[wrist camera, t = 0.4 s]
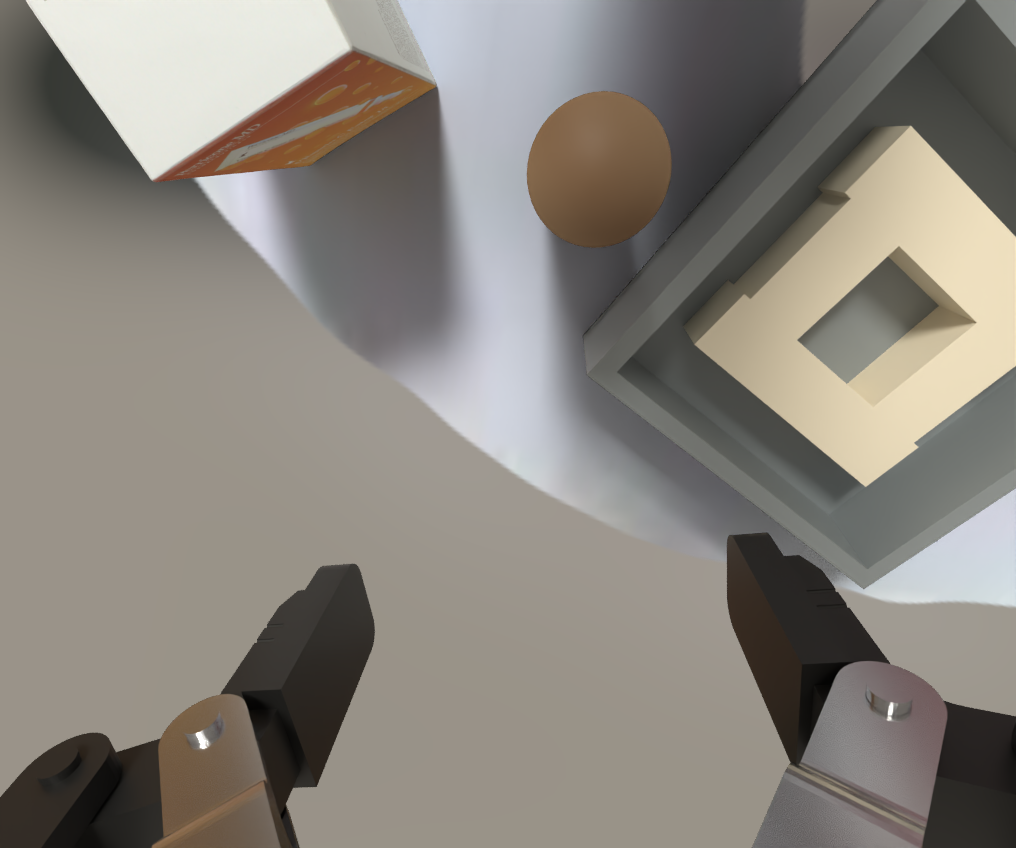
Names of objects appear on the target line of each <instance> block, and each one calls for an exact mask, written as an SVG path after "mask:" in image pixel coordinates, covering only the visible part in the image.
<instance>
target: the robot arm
mask: <svg viewBox="0 0 1016 848" xmlns="http://www.w3.org/2000/svg"><path fill="white" fill-rule="evenodd" d="M727 602H728V609H729V615H730V619H731V623H732V626H733V629H734V631H735V633H736V636H737V638H738V640H739V643H740V645H741V647H742V650H743V652H744V654H745V657H746V659H747V661H748V664H749V666H750V668H751V671H752V673H753V676H754V678H755V680H756V683H757V685H758V687H759V690H760V692H761V694H762V697H763V699H764V701H765V704H766V706H767V708H768V711H769V713H770V715H771V718H772V720H773V723H774V725H775V727H776V729H777V732H778V734H779V737H780V739H781V741H782V744H783V746H784V748H785V751H786V753H787V755H788V758H789V760H790V762H791V763H790V764H789V766H788V767H787V769H786V771H785V772H784V775H783V777H782V779H781V782H780V784H779V786H778V788H777V791H776V793H775V795H774V798H773V800H772V802H771V805H770V807H769V809H768V811H767V814H766V816H765V818H764V821H763V823H762V825H761V828H760V830H759V832H758V835H757V837H756V839H755V842H754V844H753V847H752V848H1016V716H1011V715H1005V714H1000V713H995V712H990V711H985V710H979V709H974V708H969V707H964V706H960V705H956V704H952V703H949V702H946V701H943V699H942V698H941V696H940V695H939V694H938V692H937V691H936V690H935V689H934V688H933V687H932V686H931V685H930V684H928V683H927V682H926V681H925V680H923V679H922V678H920V677H918V676H917V675H915V674H914V673H912V672H910V671H908V670H905V669H903V668H900V667H898V666H895V665H891V664H890V663H889V661H888V660H887V658H886V657H885V656H884V654H883V653H882V652H881V651H880V649H879V648H878V646H877V645H876V644H875V642H874V641H873V639H872V638H871V637H870V635H869V634H868V633H867V631H866V630H865V628H864V627H863V626H862V624H861V623H860V622H859V620H858V619H857V618H856V616H855V615H854V614H853V612H852V611H851V609H850V608H847V605H846V603H845V601H844V600H843V599H842V597H841V596H840V595H839V593H838V592H836V591H835V588H834V586H833V585H832V583H831V582H830V581H829V579H828V578H827V577H826V575H825V574H824V573H823V571H822V570H821V569H819V568H818V567H816V566H815V565H813V564H812V563H810V562H809V561H807V560H806V559H804V558H803V557H801V556H800V555H796V556H783V554H782V553H781V551H780V550H779V548H778V547H777V545H776V544H775V542H774V541H773V539H772V538H771V536H770V535H769V534H768V533H755V534H742V535H730V536H729V537H728V540H727ZM374 631H375V629H374V619H373V616H372V612H371V608H370V604H369V601H368V598H367V594H366V590H365V586H364V583H363V579H362V575H361V572H360V569H359V568H358V566H357V565H356V564H343V565H331V566H322V567H320V568H319V569H318V570H317V572H316V574H315V576H314V577H313V579H312V580H311V582H310V583H309V585H308V586H307V588H306V589H305V590H301V591H297V592H296V593H295V594H294V595H293V596H292V597H290V598H289V599H288V600H287V601H285V602H284V603H283V604H282V605H281V606H279V608H278V609H277V611H276V612H275V614H274V615H273V617H272V618H271V619H270V621H269V623H268V624H267V628H265V629H264V630H263V632H262V633H261V634H260V636H259V637H258V639H257V643H254V645H253V646H252V648H251V649H250V651H249V652H248V654H247V655H246V657H245V658H244V660H243V661H242V663H241V664H240V666H239V667H238V669H237V670H236V672H235V673H234V675H233V676H232V677H231V679H230V680H229V682H228V683H227V685H226V686H225V688H224V689H223V691H222V692H221V694H220V695H216V696H212V697H209V698H206V699H204V700H202V701H200V702H198V703H196V704H194V705H192V706H191V707H189V708H188V709H186V710H185V711H184V712H182V713H181V714H180V715H179V716H178V717H176V718H175V719H174V720H173V721H172V722H171V724H170V725H169V726H168V727H167V729H166V730H165V731H164V733H163V735H162V737H161V739H158V740H154V741H151V742H148V743H145V744H142V745H139V746H135V747H132V748H129V749H126V750H122V751H119V752H116V751H115V750H114V748H113V746H112V744H111V742H110V740H109V738H108V737H107V736H106V735H103V734H101V733H87V734H82V735H79V736H76V737H73V738H70V739H68V740H66V741H64V742H62V743H60V744H58V745H56V746H54V747H53V748H51V749H49V750H48V751H46V752H45V753H43V754H42V755H41V756H39V757H38V758H37V759H36V760H34V761H33V762H32V763H31V764H30V765H29V766H28V767H27V768H26V769H25V770H24V771H23V772H22V773H21V774H20V775H19V776H18V777H17V779H16V780H15V781H14V782H13V783H12V784H11V786H10V787H9V788H8V789H7V790H6V791H5V792H4V794H3V795H2V796H1V797H0V848H300V847H299V844H298V840H297V837H296V833H295V830H294V826H293V823H292V820H291V816H290V813H289V810H288V808H287V805H286V802H287V800H288V798H289V795H290V793H291V791H292V789H293V788H298V787H317V785H318V782H319V779H320V777H321V774H322V772H323V769H324V767H325V764H326V762H327V760H328V757H329V755H330V752H331V750H332V747H333V745H334V742H335V740H336V737H337V734H338V732H339V730H340V727H341V724H342V722H343V720H344V717H345V715H346V712H347V710H348V707H349V705H350V702H351V700H352V697H353V695H354V692H355V690H356V687H357V685H358V682H359V680H360V677H361V675H362V672H363V670H364V667H365V665H366V662H367V660H368V657H369V655H370V652H371V650H372V647H373V642H374V633H375V632H374Z"/></svg>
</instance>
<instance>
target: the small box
mask: <svg viewBox="0 0 1016 848" xmlns="http://www.w3.org/2000/svg"><path fill="white" fill-rule="evenodd" d="M26 2H27V3H28V5H29V6H30V7H31V9H32V10H33V12H34V13H35V15H36V16H37V18H38V19H39V20H40V22H41V24H42V25H43V27H44V28H45V29H46V31H47V32H48V34H49V35H50V37H51V38H52V40H53V41H54V42H55V44H56V45H57V47H58V48H59V49H60V51H61V52H62V54H63V55H64V57H65V58H66V60H67V61H68V62H69V64H70V65H71V67H72V68H73V70H74V71H75V72H76V74H77V75H78V77H79V78H80V79H81V81H82V82H83V84H84V85H85V87H86V88H87V90H88V91H89V92H90V94H91V95H92V97H93V98H94V99H95V101H96V102H97V103H98V105H99V106H100V108H101V109H102V111H103V112H104V113H105V115H106V116H107V117H108V119H109V120H110V122H111V123H112V125H113V126H114V128H115V129H116V130H117V132H118V133H119V134H120V136H121V138H122V139H123V141H124V142H125V143H126V145H127V146H128V148H129V149H130V150H131V152H132V153H133V155H134V156H135V157H136V158H137V160H138V161H139V162H140V164H141V166H142V167H143V168H144V170H145V171H146V173H147V174H148V176H149V177H150V179H151V180H152V181H154V182H161V181H169V180H177V179H184V178H195V177H205V176H215V175H224V174H234V173H245V172H254V171H263V170H272V169H284V168H295V167H304V166H310V165H312V164H313V163H314V162H316V161H317V160H319V159H320V158H322V157H323V156H324V155H326V154H327V153H329V152H330V151H332V150H333V149H335V148H336V147H338V146H340V145H341V144H343V143H344V142H346V141H348V140H349V139H351V138H352V137H354V136H356V135H357V134H359V133H360V132H362V131H364V130H365V129H367V128H368V127H370V126H371V125H373V124H375V123H376V122H378V121H380V120H381V119H383V118H385V117H386V116H388V115H390V114H391V113H393V112H395V111H396V110H398V109H400V108H401V107H403V106H405V105H406V104H408V103H410V102H411V101H413V100H415V99H416V98H418V97H420V96H421V95H423V94H425V93H426V92H428V91H430V90H432V89H434V88H435V87H436V85H437V84H436V81H435V79H434V77H433V75H432V73H431V71H430V68H429V66H428V64H427V62H426V60H425V58H424V56H423V54H422V52H421V49H420V47H419V45H418V43H417V41H416V39H415V37H414V35H413V33H412V30H411V28H410V26H409V24H408V22H407V20H406V18H405V16H404V13H403V11H402V9H401V7H400V5H399V3H398V1H397V0H26Z"/></svg>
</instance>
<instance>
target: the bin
mask: <svg viewBox="0 0 1016 848" xmlns="http://www.w3.org/2000/svg"><path fill="white" fill-rule="evenodd" d="M583 343H584V353H585V364H586V374H587V376H588V377H590V378H591V379H592V380H594V381H595V382H596V383H598V384H599V385H600V386H601V387H603V388H604V389H605V390H607V391H608V392H609V393H610V394H612V395H613V396H614V397H616V398H617V399H618V400H620V401H621V402H622V403H623V404H625V405H626V406H627V407H629V408H630V409H631V410H632V411H634V412H635V413H636V414H638V415H639V416H640V417H642V418H643V419H644V420H645V421H647V422H648V423H649V424H651V425H652V426H653V427H654V428H656V429H657V430H658V431H660V432H661V433H662V434H663V435H665V436H666V437H667V438H669V439H670V440H671V441H673V442H674V443H675V444H676V445H678V446H679V447H680V448H682V449H683V450H684V451H685V452H687V453H688V454H689V455H691V456H692V457H693V458H695V459H696V460H697V461H698V462H700V463H701V464H702V465H704V466H705V467H706V468H707V469H709V470H710V471H711V472H713V473H714V474H715V475H717V476H718V477H719V478H720V479H722V480H723V481H724V482H726V483H727V484H728V485H729V486H731V487H732V488H733V489H735V490H736V491H737V492H739V493H740V494H741V495H742V496H744V497H745V498H746V499H748V500H749V501H750V502H751V503H753V504H754V505H755V506H757V507H758V508H759V509H760V510H762V511H763V512H764V513H766V514H767V515H768V516H770V517H771V518H772V519H773V520H775V521H776V522H777V523H779V524H780V525H781V526H782V527H784V528H785V529H786V530H788V531H789V532H790V533H792V534H793V535H794V536H795V537H797V538H798V539H799V540H801V541H802V542H803V543H804V544H806V545H807V546H808V547H810V548H811V549H812V550H814V551H815V552H816V553H817V554H819V555H820V556H821V557H823V558H824V559H825V560H826V561H828V562H829V563H830V564H832V565H833V566H834V567H835V568H837V569H838V570H839V571H841V572H842V573H843V574H845V575H846V576H847V577H848V578H850V579H851V580H852V581H854V582H855V583H856V584H857V585H859V586H860V587H861V588H863V589H865V588H866V587H868V586H869V585H871V584H872V583H874V582H875V581H877V580H878V579H880V578H881V577H883V576H884V575H886V574H887V573H889V572H890V571H892V570H893V569H895V568H896V567H898V566H899V565H901V564H902V563H904V562H905V561H907V560H908V559H910V558H911V557H913V556H914V555H916V554H917V553H919V552H920V551H922V550H923V549H925V548H926V547H928V546H930V545H931V544H933V543H934V542H936V541H937V540H939V539H940V538H942V537H943V536H945V535H946V534H948V533H949V532H951V531H952V530H954V529H955V528H957V527H958V526H960V525H961V524H963V523H964V522H966V521H967V520H969V519H970V518H972V517H973V516H975V515H976V514H978V513H979V512H981V511H982V510H984V509H985V508H987V507H988V506H990V505H991V504H993V503H994V502H996V501H997V500H999V499H1000V498H1002V497H1003V496H1005V495H1006V494H1008V493H1009V492H1011V491H1012V490H1014V489H1015V488H1016V0H877V1H876V2H875V3H874V4H873V5H872V7H871V8H870V9H869V10H868V11H867V12H866V14H865V15H864V16H863V17H862V18H861V19H860V20H859V21H858V23H857V24H856V25H855V26H854V27H853V28H852V29H851V30H850V32H849V33H848V34H847V35H846V36H845V37H844V38H843V40H842V41H841V42H840V43H839V44H838V46H836V48H835V49H834V50H833V51H832V52H831V54H830V55H829V56H828V57H827V58H826V59H825V60H824V61H823V62H822V64H821V65H820V66H819V67H818V68H817V69H816V71H815V72H814V73H813V74H812V75H811V76H810V77H809V78H808V80H807V81H806V82H805V83H804V84H803V85H802V86H801V88H800V89H799V90H798V91H797V92H796V93H795V94H794V96H793V97H792V98H791V99H790V100H789V101H788V102H787V104H786V105H785V106H784V107H783V108H782V109H781V110H780V112H779V113H778V114H777V115H776V116H775V117H774V118H773V120H772V121H771V122H770V123H769V124H768V125H767V126H766V128H765V129H764V130H763V131H762V132H761V133H760V134H759V136H758V137H757V138H756V139H755V140H754V141H753V142H752V144H751V145H750V146H749V147H748V148H747V149H746V150H745V151H744V153H743V154H742V155H741V156H740V157H739V158H738V159H737V161H736V162H735V163H734V164H733V165H732V166H731V167H730V169H729V170H728V171H727V172H726V173H725V174H724V175H723V177H722V178H721V179H720V180H719V181H718V182H717V183H716V185H715V186H714V187H713V188H712V189H711V190H710V191H709V193H708V194H707V195H706V196H705V197H704V198H703V199H702V201H701V202H700V203H699V204H698V205H697V206H696V207H695V209H694V210H693V211H692V212H691V213H690V214H689V215H688V217H687V218H686V219H685V220H684V221H683V222H682V223H681V225H680V226H679V227H678V228H677V229H676V230H675V231H674V233H673V234H672V235H671V236H670V237H669V238H668V239H667V241H666V242H665V243H664V244H663V245H662V246H661V247H660V249H659V250H658V251H657V252H656V253H655V254H654V255H653V257H652V258H651V259H650V260H649V261H648V262H647V263H646V265H645V266H644V267H643V268H642V269H641V270H640V271H639V272H638V274H637V275H636V276H635V277H634V278H633V279H632V280H631V282H630V283H629V284H628V285H627V286H626V287H625V288H624V290H623V291H622V292H621V293H620V294H619V295H618V296H617V298H616V299H615V300H614V301H613V302H612V303H611V304H610V306H609V307H608V308H607V309H606V310H605V311H604V312H603V314H602V315H601V316H600V317H599V318H598V319H597V320H596V322H595V323H594V324H593V325H592V326H591V327H590V328H589V330H588V331H587V332H586V333H585V334H584V335H583Z"/></svg>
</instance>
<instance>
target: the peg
mask: <svg viewBox="0 0 1016 848" xmlns="http://www.w3.org/2000/svg"><path fill="white" fill-rule="evenodd" d="M671 165H672V162H671V151H670V146H669V142H668V139H667V136H666V133H665V131H664V129H663V127H662V125H661V124H660V122H659V121H658V119H657V118H656V116H655V115H654V114H653V113H652V112H651V111H650V110H649V109H648V108H647V107H646V106H644V105H643V104H642V103H641V102H639V101H637V100H635V99H634V98H632V97H629V96H627V95H624V94H620V93H616V92H607V91H601V92H592V93H588V94H583V95H581V96H578V97H576V98H573V99H572V100H570V101H568V102H566V103H565V104H563V105H562V106H561V107H559V108H558V109H557V110H556V111H555V112H554V113H553V114H552V115H551V116H549V118H548V119H547V120H546V121H545V123H544V124H543V125H542V127H541V128H540V130H539V132H538V133H537V135H536V138H535V140H534V142H533V144H532V148H531V151H530V154H529V159H528V166H527V184H528V190H529V195H530V198H531V201H532V204H533V206H534V209H535V211H536V213H537V214H538V216H539V218H540V219H541V220H542V222H543V223H544V224H545V225H546V227H547V228H548V229H550V230H551V231H552V232H553V233H554V234H555V235H557V236H558V237H560V238H561V239H563V240H565V241H567V242H569V243H572V244H575V245H578V246H583V247H592V248H596V247H606V246H611V245H614V244H617V243H620V242H623V241H625V240H627V239H629V238H630V237H632V236H634V235H635V234H637V233H638V232H639V231H640V230H642V229H643V228H644V227H645V226H646V225H647V224H648V223H649V222H650V221H651V220H652V218H653V217H654V216H655V214H656V213H657V211H658V210H659V208H660V206H661V205H662V203H663V200H664V198H665V196H666V193H667V190H668V187H669V183H670V177H671Z"/></svg>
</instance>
